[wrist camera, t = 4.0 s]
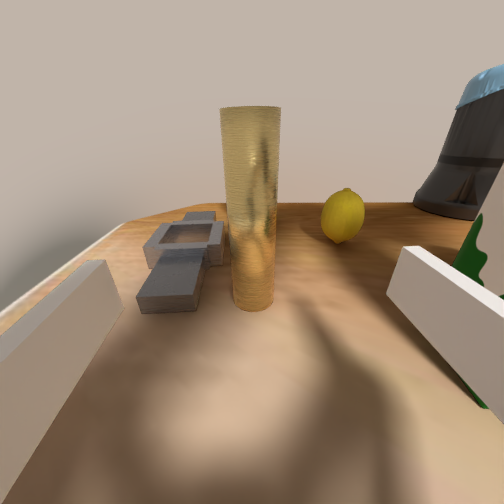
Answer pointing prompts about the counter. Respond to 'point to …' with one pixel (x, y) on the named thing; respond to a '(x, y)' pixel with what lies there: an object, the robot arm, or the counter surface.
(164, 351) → the counter surface
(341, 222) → the lemon
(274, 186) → the link pin
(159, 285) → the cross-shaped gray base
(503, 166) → the milk carton
